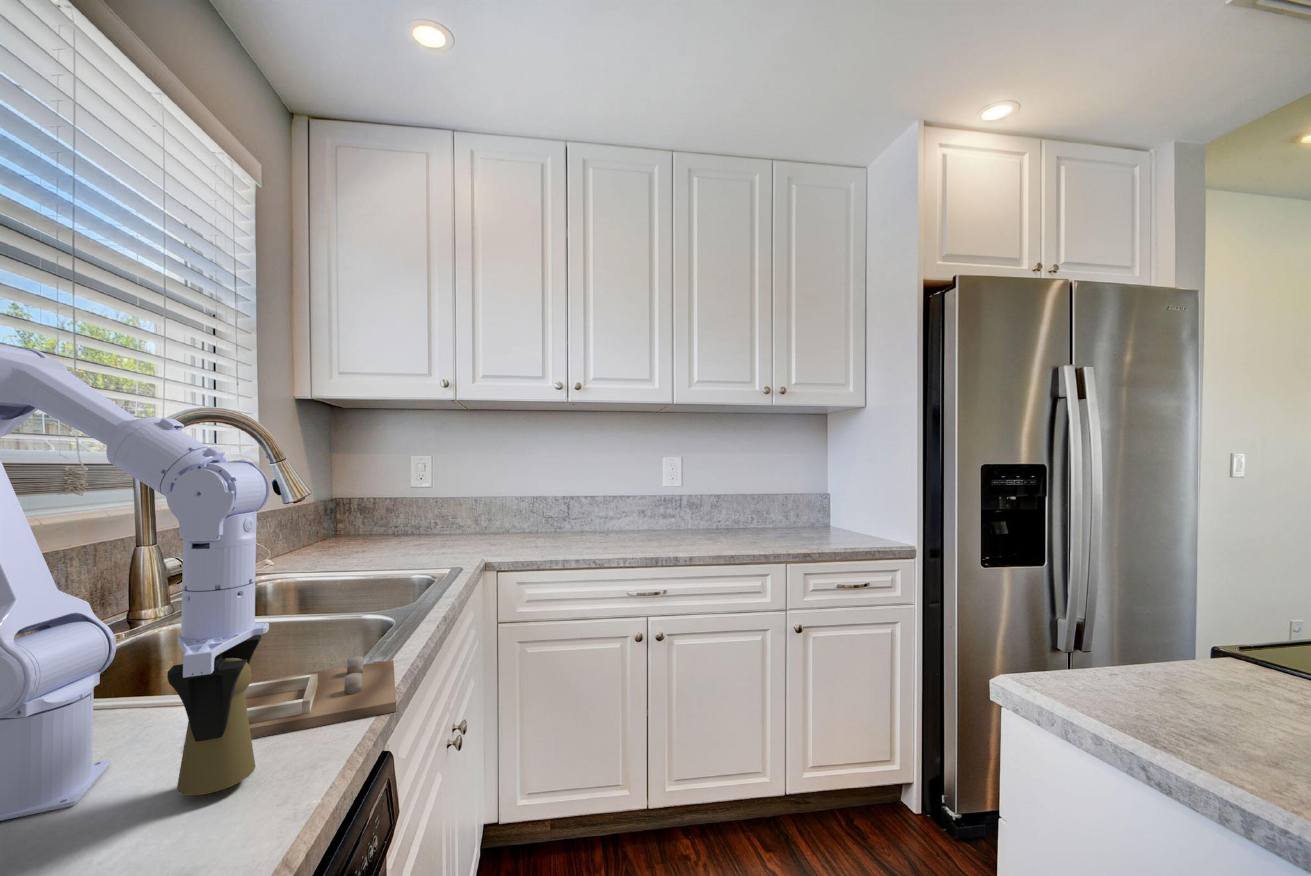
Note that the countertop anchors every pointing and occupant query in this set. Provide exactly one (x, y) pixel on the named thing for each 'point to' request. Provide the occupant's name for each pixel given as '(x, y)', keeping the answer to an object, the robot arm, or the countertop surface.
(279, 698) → the board
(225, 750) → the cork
